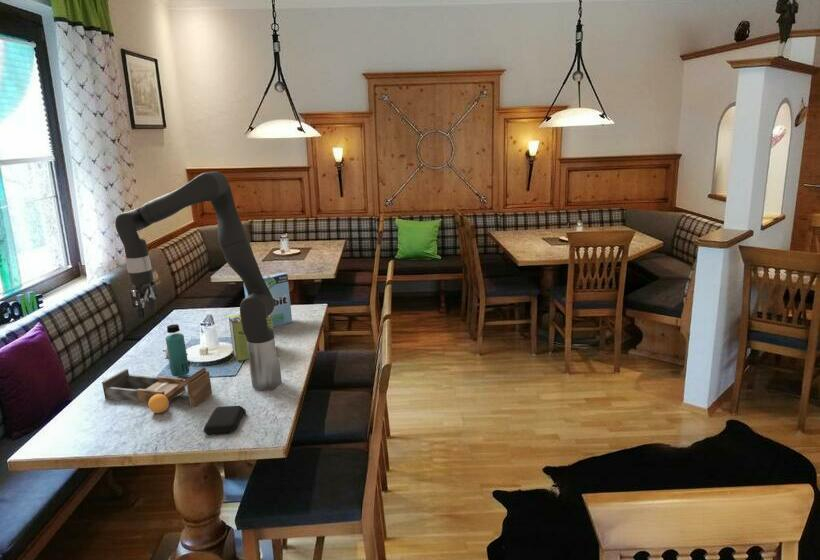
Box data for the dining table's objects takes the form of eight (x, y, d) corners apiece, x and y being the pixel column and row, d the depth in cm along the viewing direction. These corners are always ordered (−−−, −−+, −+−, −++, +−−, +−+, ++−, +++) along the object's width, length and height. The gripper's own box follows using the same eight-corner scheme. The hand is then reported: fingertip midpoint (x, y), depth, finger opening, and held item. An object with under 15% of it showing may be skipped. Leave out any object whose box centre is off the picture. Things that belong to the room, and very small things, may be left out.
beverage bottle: (184, 381, 209) (176, 328, 204) (167, 380, 210) (159, 328, 205) (194, 373, 215) (186, 322, 210) (178, 372, 217) (170, 322, 211)
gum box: (252, 332, 257) (246, 282, 251) (248, 329, 261) (242, 280, 255) (292, 322, 268) (288, 274, 262) (288, 319, 272) (283, 272, 266)
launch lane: (214, 393, 198) (210, 366, 196) (194, 408, 188) (189, 379, 186) (128, 384, 208) (123, 358, 206) (105, 398, 198) (99, 371, 196)
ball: (174, 408, 189) (171, 391, 187) (161, 417, 183) (158, 400, 182) (158, 406, 190) (155, 390, 189) (145, 415, 185) (142, 398, 183)
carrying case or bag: (239, 435, 171) (249, 411, 185) (237, 425, 170) (248, 402, 184) (202, 437, 171) (215, 413, 185) (200, 428, 170) (214, 405, 184)
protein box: (276, 353, 231) (272, 316, 227) (237, 361, 225) (232, 323, 221) (270, 345, 240) (266, 309, 236) (232, 352, 234) (227, 316, 230)
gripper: (141, 273, 191) (149, 320, 196) (159, 263, 205) (166, 307, 209) (118, 275, 192) (127, 321, 196) (138, 265, 205) (146, 308, 209)
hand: (147, 314), depth 203 cm, fingers open, 8 cm apart
